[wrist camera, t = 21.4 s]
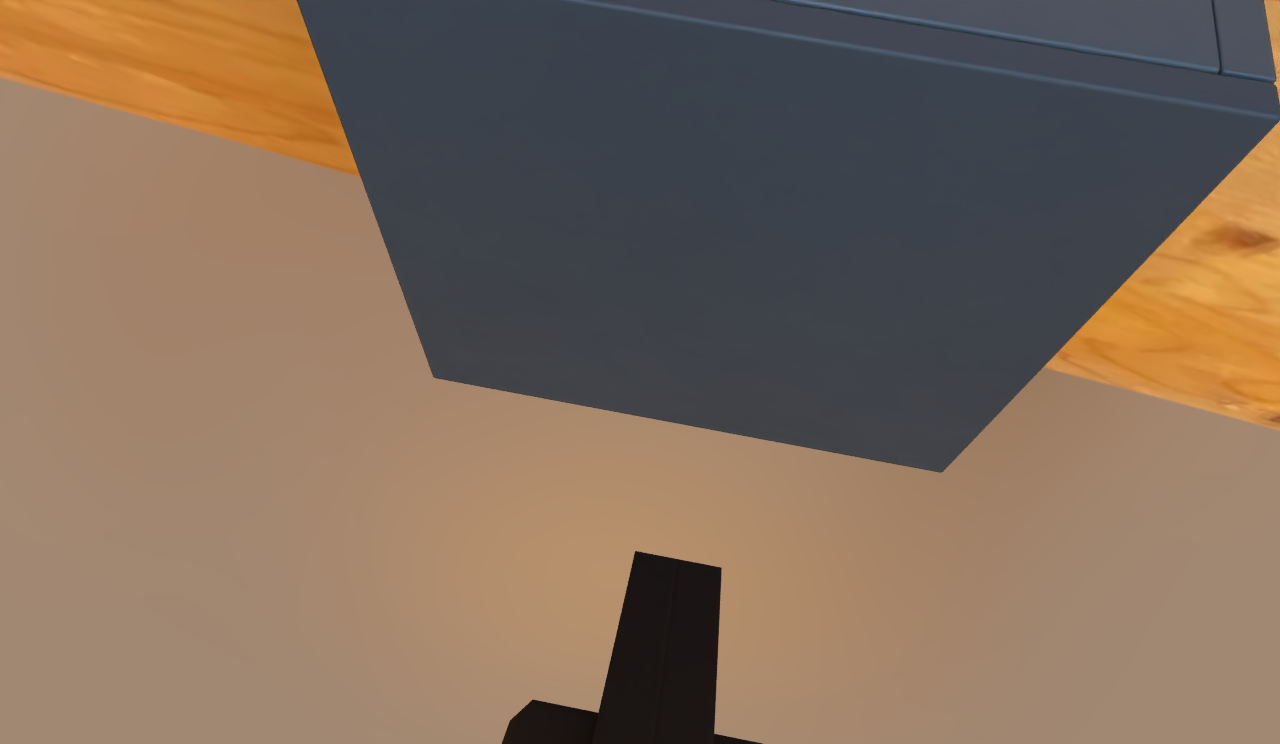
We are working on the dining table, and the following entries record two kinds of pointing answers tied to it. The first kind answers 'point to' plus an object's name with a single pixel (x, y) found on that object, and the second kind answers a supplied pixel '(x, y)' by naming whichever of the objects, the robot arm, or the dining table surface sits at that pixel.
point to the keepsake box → (1102, 28)
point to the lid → (763, 204)
